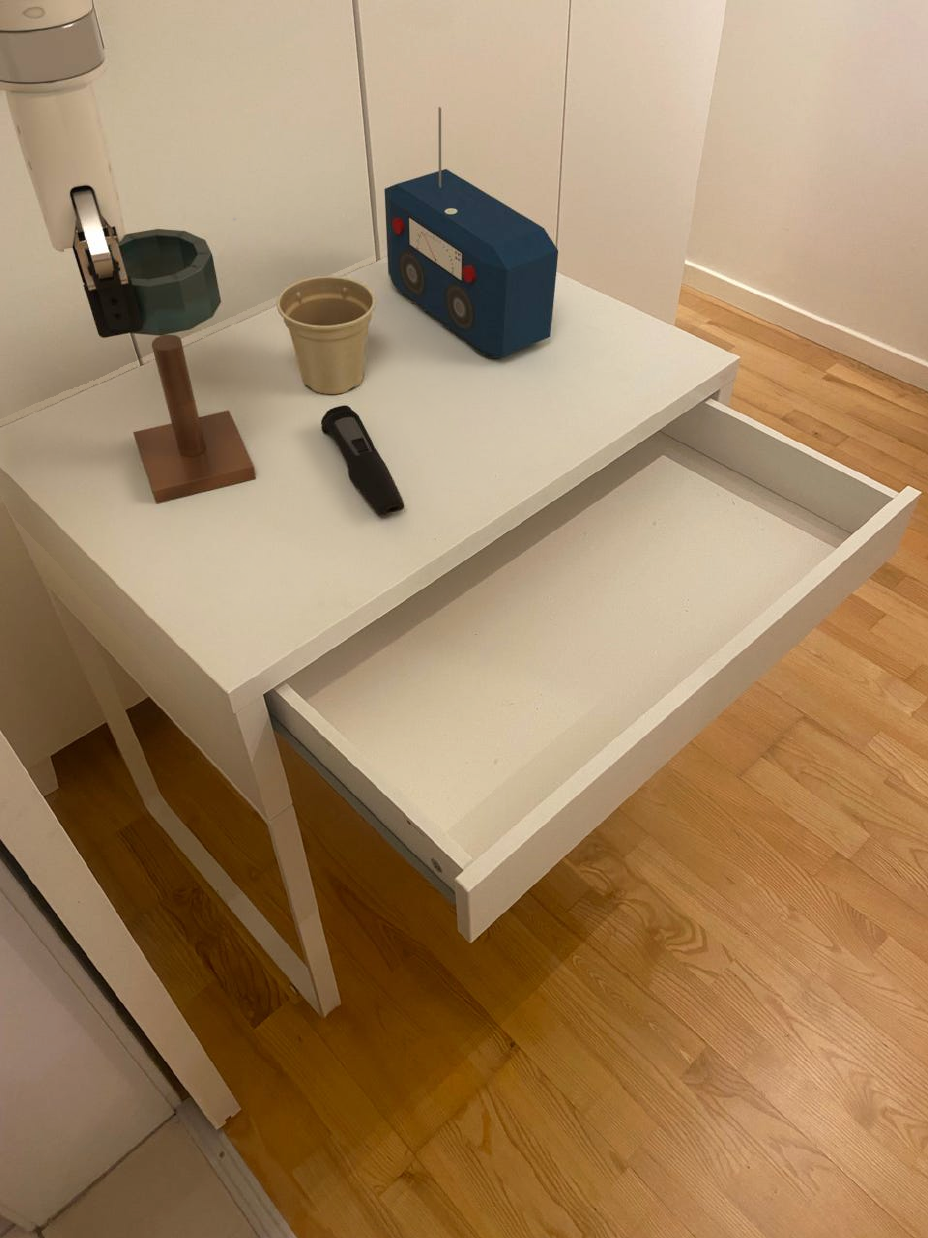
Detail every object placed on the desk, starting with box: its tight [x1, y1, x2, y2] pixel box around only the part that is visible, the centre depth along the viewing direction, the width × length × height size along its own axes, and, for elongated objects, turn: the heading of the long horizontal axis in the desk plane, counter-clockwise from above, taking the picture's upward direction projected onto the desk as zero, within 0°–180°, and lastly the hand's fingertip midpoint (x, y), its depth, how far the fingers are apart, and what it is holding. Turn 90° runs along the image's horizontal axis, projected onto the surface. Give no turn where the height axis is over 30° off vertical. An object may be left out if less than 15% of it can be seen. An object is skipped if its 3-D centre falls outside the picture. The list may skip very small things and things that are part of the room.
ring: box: [108, 228, 222, 337], centre depth 73 cm, size 8×8×4 cm
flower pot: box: [276, 275, 377, 395], centre depth 94 cm, size 9×9×9 cm
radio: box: [383, 106, 559, 359], centre depth 98 cm, size 21×9×20 cm, turn 37°
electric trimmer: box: [320, 404, 405, 517], centre depth 87 cm, size 4×16×3 cm, turn 23°
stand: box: [132, 334, 257, 504], centre depth 84 cm, size 9×9×12 cm
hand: (112, 304), depth 72 cm, fingers closed on ring, 7 cm apart
